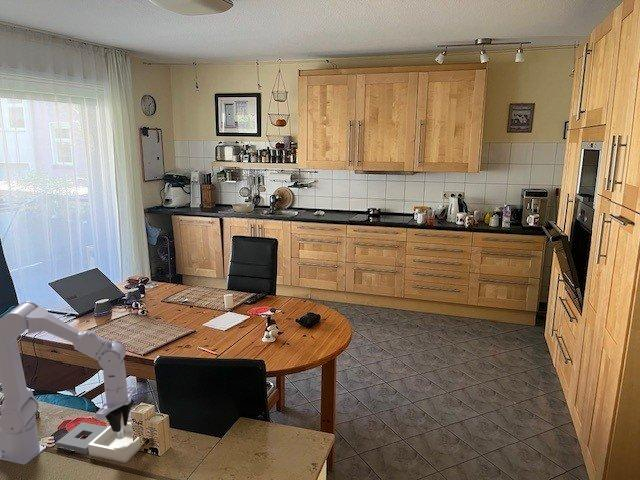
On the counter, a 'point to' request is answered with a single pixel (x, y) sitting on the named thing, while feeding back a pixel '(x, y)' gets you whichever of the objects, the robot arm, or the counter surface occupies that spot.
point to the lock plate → (73, 436)
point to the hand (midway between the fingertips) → (119, 427)
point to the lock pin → (121, 430)
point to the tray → (114, 445)
